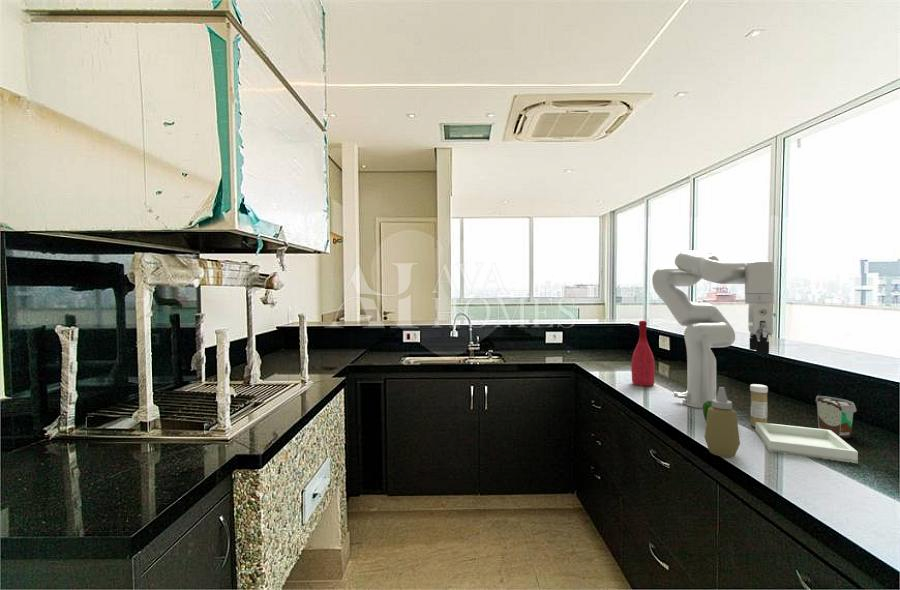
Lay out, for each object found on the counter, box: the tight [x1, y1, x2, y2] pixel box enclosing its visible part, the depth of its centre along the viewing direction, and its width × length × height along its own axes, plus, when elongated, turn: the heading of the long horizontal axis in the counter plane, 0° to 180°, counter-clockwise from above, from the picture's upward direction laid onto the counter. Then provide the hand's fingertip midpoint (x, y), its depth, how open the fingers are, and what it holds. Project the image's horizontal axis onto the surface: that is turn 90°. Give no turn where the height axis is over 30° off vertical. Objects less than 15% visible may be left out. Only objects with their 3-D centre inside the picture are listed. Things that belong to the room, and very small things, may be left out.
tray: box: [754, 422, 859, 464], centre depth 117 cm, size 18×18×3 cm
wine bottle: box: [631, 320, 656, 387], centre depth 194 cm, size 10×10×30 cm
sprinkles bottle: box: [749, 383, 769, 428], centre depth 133 cm, size 5×5×14 cm
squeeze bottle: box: [704, 386, 741, 458], centre depth 112 cm, size 8×8×18 cm
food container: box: [815, 395, 858, 439], centre depth 127 cm, size 12×6×10 cm, turn 168°
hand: (758, 352), depth 133 cm, fingers open, 9 cm apart
